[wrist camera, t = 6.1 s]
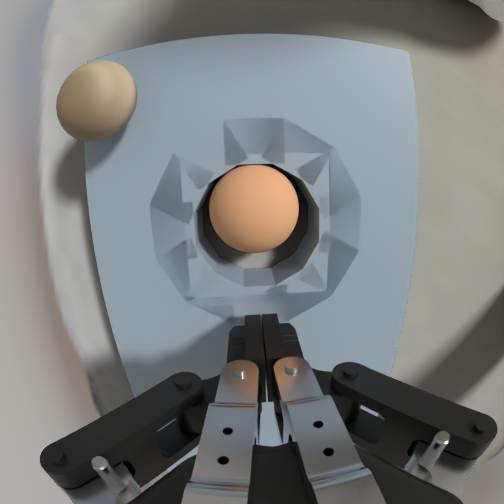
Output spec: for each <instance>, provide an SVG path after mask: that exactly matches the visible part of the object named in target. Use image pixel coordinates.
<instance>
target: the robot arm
mask: <svg viewBox="0 0 504 504" xmlns="http://www.w3.org/2000/svg"><path fill="white" fill-rule="evenodd" d="M266 387H267V398H268V402H273V403H274V418H275V423H276V427H277V432H278V436H279V440H280V445H278V446H273V447H272V446H263V445H260V429H261V412H262V403H264V402H266ZM361 405H362V406H364V407H366V408H368V409H370V410H372V411H374V412H376V413H378V414H380V415H382V416H383V417H384V419H385V420H383V419H381V418H379V417H377V416H375V415H373V414H371V413H369V412H367V411H365V410H363V409H361ZM174 419H175V420H174ZM172 420H174V421H172ZM171 421H172V422H171ZM170 422H171V423H170ZM168 423H170V424H168ZM167 424H168V425H167ZM165 425H167V426H165ZM164 426H165V427H164ZM162 427H164V428H162ZM161 428H162V429H161ZM159 429H161V430H159ZM158 430H159V431H158ZM496 434H497V424H496V422H495V421H494V420H493V418H491V417H490V416H488V415H486V414H483V413H480V412H478V411H475V410H472V409H469V408H467V407H464V406H461V405H458V404H456V403H453V402H450V401H448V400H445V399H443V398H440V397H437V396H435V395H432V394H430V393H427V392H425V391H422V390H420V389H417V388H415V387H413V386H410V385H408V384H405V383H403V382H401V381H398V380H396V379H393V378H391V377H389V376H386V375H384V374H382V373H380V372H377V371H375V370H373V369H370V368H368V367H366V366H364V365H361V364H359V363H356V362H343V363H340V364H338V365H336V366H335V367H334V368H333V370H332V372H330V371H320V370H316V369H314V368H312V367H311V366H310V364H309V362H308V361H306V360H305V359H304V356H303V353H302V350H301V346H300V343H299V339H298V336H297V333H296V329H295V327H293V326H292V325H291V324H290V323H279V320H278V315H277V313H272V314H262V326H261V316H260V314H256V315H245V325H243V326H234V327H233V328H232V329H231V330H230V331H229V340H228V350H227V362H226V365H225V366H224V367H223V368H222V371H221V374H219V375H217V376H215V377H213V378H209V379H205V380H201V378H200V377H199V376H198V375H197V374H195V373H192V372H179V373H176V374H173V375H171V376H170V377H168V378H167V379H165V380H163V381H162V382H160V383H159V384H157V385H155V386H154V387H152V388H150V389H149V390H147V391H145V392H144V393H142V394H140V395H139V396H137V397H135V398H134V399H132V400H130V401H129V402H127V403H125V404H124V405H122V406H120V407H118V408H117V409H115V410H113V411H111V412H110V413H108V414H106V415H104V416H103V417H101V418H99V419H97V420H95V421H94V422H92V423H90V424H88V425H86V426H84V427H83V428H81V429H79V430H77V431H75V432H73V433H71V434H69V435H67V436H66V437H64V438H62V439H60V440H58V441H56V442H54V443H52V444H50V445H48V446H47V447H46V448H45V449H44V450H43V451H42V453H41V455H40V463H41V466H42V467H43V469H44V470H45V471H46V472H47V473H48V474H49V476H50V477H51V478H52V479H53V480H54V482H55V483H56V484H57V485H58V486H59V487H60V488H61V489H62V490H63V491H64V492H65V493H66V494H67V495H68V496H69V497H70V499H71V500H72V502H73V503H74V504H463V503H462V501H461V500H460V499H459V496H460V494H461V492H462V490H463V488H464V486H465V484H466V482H467V480H468V478H469V476H470V474H471V472H472V469H473V467H474V465H475V463H476V462H477V460H478V459H479V458H480V457H481V455H482V454H483V453H484V451H485V450H486V449H487V447H488V446H489V445H490V443H491V442H492V441H493V439H494V438H495V436H496ZM353 443H354V444H353ZM355 444H356V445H355ZM198 445H199V447H198V451H197V454H196V455H194V456H192V457H190V458H188V459H186V460H184V461H183V462H181V463H180V464H179V465H177V466H176V467H175V468H174V469H172V470H171V471H170V472H169V473H167V474H166V475H165V476H164V477H162V478H161V479H160V480H158V481H157V482H156V483H155V484H153V485H152V486H151V487H149V488H148V489H146V490H145V491H144V492H142V493H141V490H140V488H141V487H142V486H144V485H145V484H147V483H148V482H150V481H151V480H153V479H154V478H155V477H157V476H158V475H160V474H161V473H162V472H164V471H165V470H167V469H168V468H169V467H171V466H172V465H173V464H175V463H176V462H177V461H179V460H180V459H181V458H183V457H184V456H185V455H187V454H188V453H189V452H190V451H192V450H193V449H194V448H195V447H197V446H198ZM393 464H394V465H393ZM395 465H396V466H395ZM397 466H398V467H397ZM399 467H400V468H399ZM401 468H402V469H401ZM403 469H404V470H403ZM140 493H141V494H140Z"/></svg>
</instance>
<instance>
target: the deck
mask: <svg viewBox="0 0 504 504" xmlns="http://www.w3.org/2000/svg"><path fill="white" fill-rule="evenodd" d="M100 60H106V61H112V62H115V63H118V64H120V65H122V66H123V67H124V68H126V69H127V70H128V71H129V72H130V74H131V75H132V77H133V78H134V81H135V83H136V87H137V104H136V108H135V111H134V113H133V115H132V117H131V119H130V120H129V122H128V123H127V124H126V125H125V126H124V127H123V129H121V130H120V131H119V132H118V133H116V134H115V135H113V136H111V137H109V138H107V139H104V140H101V141H94V142H88V141H84V158H85V175H86V188H87V199H88V208H89V217H90V224H91V232H92V238H93V245H94V251H95V256H96V262H97V267H98V272H99V277H100V282H101V287H102V291H103V296H104V300H105V304H106V308H107V312H108V316H109V320H110V324H111V327H112V331H113V335H114V338H115V342H116V345H117V348H118V351H119V355H120V358H121V361H122V364H123V367H124V370H125V373H126V376H127V379H128V382H129V384H130V387H131V390H132V393H133V395H134V398H135V397H137V396H139V395H140V394H142V393H144V392H145V391H147V390H149V389H150V388H152V387H154V386H155V385H157V384H159V383H160V382H162V381H163V380H165V379H167V378H168V377H170V376H171V375H173V374H176V373H179V372H192V373H195V374H197V375H198V376H199V377H200V378H201V380H205V379H209V378H213V377H215V376H217V375H219V374H221V371H222V368H223V367H224V366H225V365H226V362H227V350H228V340H229V331H230V330H231V329H232V328H233V327H234V326H243V325H245V315H256V314H260V316H261V326H262V314H272V313H277V315H278V320H279V323H290V324H291V325H292V326H293V327H295V329H296V333H297V336H298V339H299V343H300V346H301V350H302V353H303V356H304V359H305V360H306V361H308V362H309V364H310V366H311V367H312V368H314V369H316V370H320V371H330V372H332V370H333V368H334V367H335V366H336V365H338V364H340V363H343V362H356V363H359V364H361V365H364V366H366V367H368V368H370V369H373V370H375V371H377V372H380V373H382V374H384V375H386V376H389V377H390V375H391V372H392V368H393V365H394V361H395V357H396V353H397V349H398V345H399V341H400V336H401V332H402V327H403V323H404V318H405V313H406V307H407V302H408V296H409V290H410V284H411V277H412V270H413V262H414V254H415V244H416V234H417V221H418V203H419V139H418V122H417V109H416V99H415V90H414V82H413V75H412V68H411V62H410V56H409V52H407V51H403V50H399V49H395V48H390V47H386V46H381V45H376V44H371V43H366V42H360V41H354V40H347V39H340V38H332V37H323V36H312V35H297V34H232V35H217V36H206V37H197V38H189V39H182V40H175V41H169V42H163V43H157V44H152V45H147V46H142V47H138V48H133V49H129V50H125V51H121V52H117V53H114V54H110V55H106V56H103V57H100V58H96V59H93V60H90V61H87V63H90V62H93V61H100ZM247 164H262V165H263V164H268V165H270V166H272V167H274V168H276V169H278V170H280V171H281V172H283V173H285V174H287V175H289V176H291V177H292V178H294V180H295V182H296V183H297V185H298V187H299V188H300V190H301V192H302V193H303V195H304V197H305V198H306V200H307V202H308V230H307V232H306V234H305V236H304V237H303V239H302V241H301V243H300V244H299V246H298V248H297V250H296V251H295V253H294V254H293V255H291V256H289V257H288V258H286V259H284V260H283V261H281V262H279V263H278V264H276V265H274V266H273V267H271V268H250V269H243V268H241V267H239V266H237V265H235V264H233V263H231V262H229V261H227V260H225V259H223V258H221V257H219V256H218V254H217V253H216V251H215V250H214V248H213V247H212V245H211V244H210V242H209V241H208V240H207V238H206V237H205V235H204V229H203V216H202V205H203V203H204V201H205V199H206V197H207V195H208V193H209V191H210V189H211V187H212V185H213V183H214V181H215V180H217V179H219V178H220V177H222V176H223V175H225V174H226V173H227V172H229V171H230V170H232V169H234V168H236V167H237V166H239V165H247ZM361 409H363V410H365V411H367V412H369V413H371V414H373V415H375V416H378V413H376V412H374V411H372V410H370V409H368V408H366V407H364V406H362V405H361ZM174 420H175V419H174ZM174 420H172V421H174ZM172 421H171V422H172ZM171 422H170V423H171ZM170 423H168V424H170ZM168 424H167V425H168ZM167 425H165V426H167ZM165 426H164V427H165ZM164 427H162V428H164ZM162 428H161V429H162ZM161 429H159V430H161ZM159 430H158V431H159ZM353 444H354V443H353ZM260 445H263V446H272V447H273V446H278V445H280V440H279V436H278V432H277V427H276V423H275V418H274V403H273V402H268V398H267V387H266V402H264V403H262V412H261V429H260ZM355 445H356V444H355ZM198 447H199V445H198V446H197V447H195V448H194V449H193V450H192V451H190V452H189V453H188V454H187V455H185V456H184V457H183V458H181V459H180V460H179V461H177V462H176V463H175V464H173V465H172V466H171V467H169V468H168V469H167V471H168V473H169V472H170V471H171V470H172V469H174V468H175V467H176V466H177V465H179V464H180V463H181V462H183V461H184V460H186V459H188V458H190V457H192V456H194V455H196V454H197V451H198Z"/></svg>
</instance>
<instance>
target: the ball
mask: <svg viewBox="0 0 504 504" xmlns="http://www.w3.org/2000/svg"><path fill="white" fill-rule="evenodd" d="M209 213H210V219H211V222H212V225H213V227H214V229H215V231H216V233H217V234H218V235H219V237H220V238H221V239H222V240H223V241H224V242H225V243H227V244H228V245H229V246H231V247H233V248H235V249H237V250H240V251H243V252H248V253H259V252H265V251H269V250H271V249H273V248H275V247H277V246H279V245H280V244H281V243H283V242H284V241H285V240H286V239H287V238H288V237H289V235H290V234H291V233H292V231H293V229H294V227H295V225H296V222H297V219H298V213H299V203H298V198H297V194H296V191H295V189H294V187H293V186H292V184H291V182H290V181H289V180H288V179H287V178H286V177H285V176H284V175H283V174H282V173H281V172H279V171H278V170H276V169H274V168H272V167H269V166H266V165H262V164H247V165H241V166H238V167H236V168H234V169H232V170H230V171H229V172H227V173H226V174H225V175H224V176H223V177H222V178H221V179H220V180H219V181H218V182H217V184H216V185H215V187H214V189H213V191H212V194H211V197H210V203H209Z"/></svg>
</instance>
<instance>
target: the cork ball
mask: <svg viewBox="0 0 504 504" xmlns="http://www.w3.org/2000/svg"><path fill="white" fill-rule="evenodd" d="M136 104H137V87H136V83H135V81H134V78H133V77H132V75H131V74H130V72H129V71H128V70H127V69H126V68H124V67H123V66H122V65H120V64H118V63H115V62H112V61H106V60H100V61H93V62H90V63H87V64H84V65H82V66H81V67H79V68H77V69H76V70H75V71H73V72H72V73H71V74H70V75H69V76H68V77H67V79H66V80H65V81H64V83H63V85H62V87H61V89H60V91H59V94H58V97H57V104H56V109H57V116H58V119H59V122H60V124H61V126H62V127H63V129H64V130H65V131H66V132H67V133H68V134H69V135H71V136H72V137H74V138H76V139H78V140H82V141H88V142H94V141H101V140H104V139H107V138H109V137H111V136H113V135H115V134H116V133H118V132H119V131H120V130H121V129H123V127H124V126H125V125H126V124H127V123H128V122H129V120H130V119H131V117H132V115H133V113H134V111H135V108H136Z"/></svg>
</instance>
